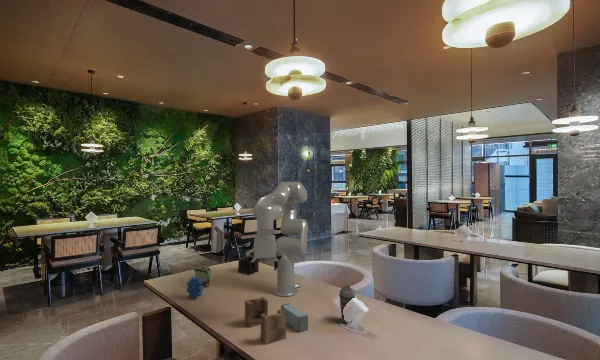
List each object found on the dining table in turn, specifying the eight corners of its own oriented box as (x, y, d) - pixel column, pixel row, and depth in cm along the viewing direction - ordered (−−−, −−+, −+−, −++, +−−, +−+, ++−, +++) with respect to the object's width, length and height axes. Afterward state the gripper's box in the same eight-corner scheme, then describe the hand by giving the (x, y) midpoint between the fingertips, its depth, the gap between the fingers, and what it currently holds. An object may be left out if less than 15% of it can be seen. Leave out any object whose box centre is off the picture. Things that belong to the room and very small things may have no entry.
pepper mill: (236, 273, 217) (237, 247, 217) (247, 269, 226) (248, 244, 226) (253, 276, 208) (254, 249, 208) (264, 272, 217) (264, 246, 218)
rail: (288, 316, 147) (288, 303, 147) (307, 330, 133) (308, 315, 133) (281, 318, 144) (281, 304, 144) (299, 332, 131) (299, 317, 131)
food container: (215, 285, 191) (215, 268, 191) (207, 288, 185) (208, 271, 185) (202, 281, 197) (202, 265, 197) (194, 284, 192) (194, 267, 192)
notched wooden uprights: (263, 318, 143) (263, 297, 144) (285, 338, 125) (286, 313, 126) (244, 323, 139) (244, 300, 139) (265, 344, 121) (265, 318, 121)
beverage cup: (345, 325, 137) (345, 280, 137) (335, 319, 143) (336, 275, 144) (358, 322, 140) (358, 277, 141) (348, 316, 147) (349, 273, 147)
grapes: (208, 297, 169) (209, 275, 170) (199, 302, 163) (200, 278, 164) (193, 294, 175) (193, 272, 175) (183, 298, 169) (183, 275, 169)
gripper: (283, 231, 149) (282, 267, 148) (246, 231, 146) (245, 268, 146) (284, 233, 141) (284, 271, 141) (245, 234, 139) (245, 273, 138)
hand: (264, 270), depth 143 cm, fingers open, 9 cm apart
